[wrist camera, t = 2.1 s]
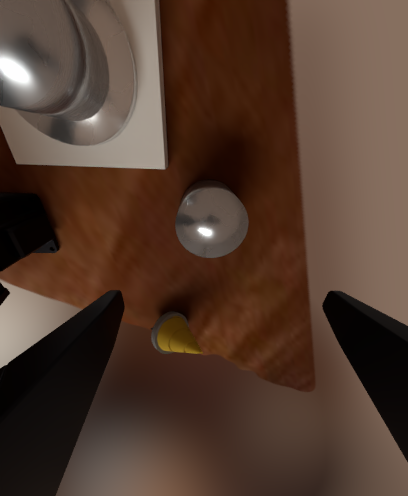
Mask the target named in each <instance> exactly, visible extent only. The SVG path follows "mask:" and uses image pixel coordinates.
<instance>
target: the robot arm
mask: <svg viewBox="0 0 408 496" xmlns="http://www.w3.org/2000/svg"><path fill="white" fill-rule="evenodd" d="M31 197H32V198H33V199H34V200H32V198H31ZM52 247H53V248H54V249H53V248H52ZM58 250H59V246H58V243H57V241H56V238H55V236H54V233H53V231H52V228H51V226H50V223H49V221H48V218H47V216H46V213H45V211H44V208H43V206H42V203H41V201H40V198H39V197H38V196H37V195H36V194H33V193H4V192H0V272H1V271H3V270H5V269H6V268H8V267H9V266H11V265H12V264H14V263H16V262H17V261H19V260H20V259H22V258H25V257H26V256H28V255H30V254H31V253H56V252H57V251H58ZM9 294H10V292H9V291H8V289H7V288H4V287H3V285H2V284H1V283H0V305H1V304H2V303H3V301H4V300H5V299H6V298H7V296H8V295H9ZM322 307H323V310H324V313H325V315H326V317H327V319H328V321H329V323H330V325H331V328H332V330H333V332H334V334H335V336H336V338H337V340H338V342H339V344H340V346H341V348H342V350H343V352H344V353H345V355H346V356H347V358H348V360H349V362H350V364H351V365H352V367H353V369H354V370H355V372H356V374H357V376H358V377H359V379H360V381H361V382H362V384H363V386H364V388H365V389H366V391H367V393H368V395H369V396H370V398H371V400H372V401H373V403H374V405H375V407H376V408H377V410H378V412H379V414H380V415H381V417H382V419H383V420H384V422H385V424H386V426H387V427H388V429H389V431H390V433H391V434H392V436H393V438H394V439H395V441H396V443H397V444H398V446H399V448H400V450H401V451H402V453H403V455H404V457H405V458H406V460H407V462H408V326H406V325H405V324H403V323H401V322H399V321H397V320H395V319H393V318H391V317H389V316H388V315H386V314H384V313H382V312H380V311H378V310H376V309H374V308H372V307H370V306H368V305H366V304H364V303H363V302H360V301H359V300H357V299H354V298H353V297H351V296H349V295H347V294H345V293H343V292H341V291H330V292H328V294H327V296H326V298H325V300H324V302H323V305H322ZM123 312H124V301H123V297H122V293H121V291H119V290H110V291H108V292H107V293H105V294H104V295H103V296H101V297H100V298H98V299H97V300H96V301H94V302H93V303H91V304H90V305H89V306H87V307H86V308H84V309H83V310H82V311H80V312H79V313H77V314H76V315H75V316H74V317H72V318H70V319H69V320H68V321H67V322H65V323H63V324H62V325H61V326H59V327H58V328H56V329H55V330H54V331H52V332H51V333H49V334H48V335H47V336H45V337H44V338H42V339H41V340H40V341H38V342H37V343H36V344H34V345H33V346H31V347H30V348H28V349H27V350H26V351H24V352H23V353H22V354H20V355H19V356H17V357H16V358H15V359H13V360H12V361H10V362H9V363H8V365H5V366H3V367H2V368H0V496H55V495H56V493H57V490H58V488H59V485H60V483H61V480H62V478H63V475H64V472H65V470H66V468H67V465H68V462H69V460H70V457H71V455H72V452H73V449H74V447H75V445H76V442H77V439H78V437H79V434H80V432H81V429H82V426H83V424H84V422H85V419H86V416H87V414H88V411H89V409H90V406H91V404H92V401H93V398H94V396H95V394H96V391H97V388H98V386H99V383H100V381H101V378H102V376H103V373H104V371H105V368H106V366H107V363H108V361H109V358H110V355H111V353H112V350H113V347H114V344H115V341H116V337H117V334H118V330H119V327H120V323H121V319H122V316H123Z"/></svg>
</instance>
